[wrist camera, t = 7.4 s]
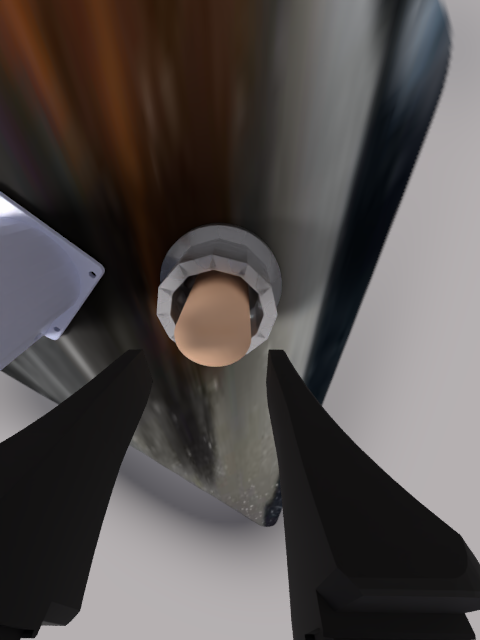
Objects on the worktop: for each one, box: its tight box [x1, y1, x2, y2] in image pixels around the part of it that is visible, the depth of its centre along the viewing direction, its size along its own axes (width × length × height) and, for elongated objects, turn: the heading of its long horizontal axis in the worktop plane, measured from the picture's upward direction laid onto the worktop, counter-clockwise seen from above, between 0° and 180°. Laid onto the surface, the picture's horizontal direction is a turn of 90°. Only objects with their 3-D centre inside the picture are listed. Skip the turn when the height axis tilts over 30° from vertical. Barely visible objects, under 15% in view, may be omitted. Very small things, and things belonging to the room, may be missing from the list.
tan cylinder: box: [174, 270, 251, 367], centre depth 14 cm, size 4×4×6 cm
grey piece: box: [157, 223, 282, 354], centre depth 16 cm, size 9×9×4 cm
